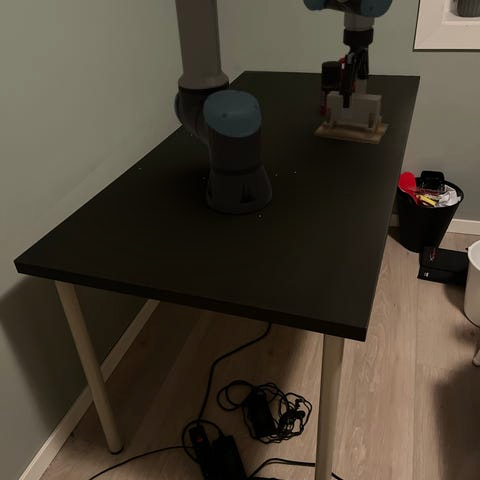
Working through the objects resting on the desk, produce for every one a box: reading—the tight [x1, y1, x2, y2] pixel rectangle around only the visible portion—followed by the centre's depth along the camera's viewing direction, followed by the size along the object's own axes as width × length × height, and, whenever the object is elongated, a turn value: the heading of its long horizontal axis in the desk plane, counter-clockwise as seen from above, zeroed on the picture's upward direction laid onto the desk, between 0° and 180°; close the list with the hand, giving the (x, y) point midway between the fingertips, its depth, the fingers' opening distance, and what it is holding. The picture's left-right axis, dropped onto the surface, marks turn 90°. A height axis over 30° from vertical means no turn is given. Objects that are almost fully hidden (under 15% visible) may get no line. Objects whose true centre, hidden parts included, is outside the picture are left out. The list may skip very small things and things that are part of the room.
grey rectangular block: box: [327, 91, 382, 126], centre depth 133 cm, size 4×14×7 cm, turn 62°
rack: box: [314, 108, 390, 145], centre depth 135 cm, size 12×18×8 cm, turn 63°
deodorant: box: [320, 60, 343, 117], centre depth 145 cm, size 6×6×15 cm
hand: (353, 110), depth 133 cm, fingers open, 12 cm apart
